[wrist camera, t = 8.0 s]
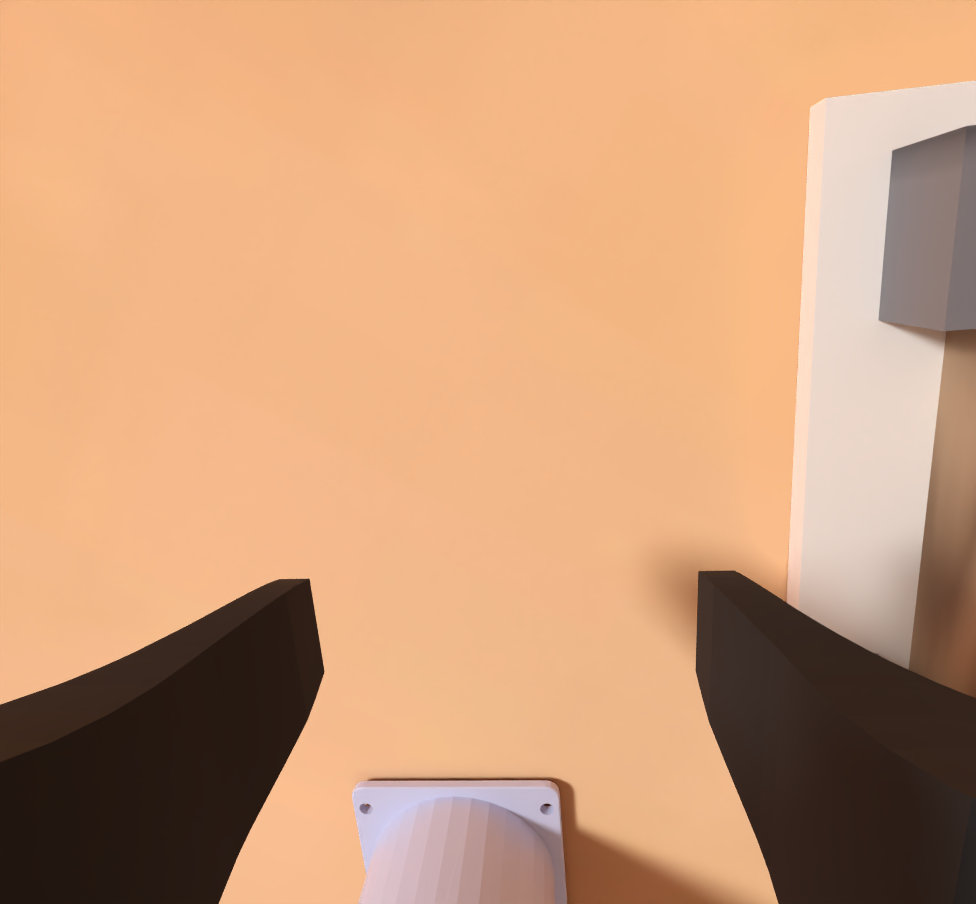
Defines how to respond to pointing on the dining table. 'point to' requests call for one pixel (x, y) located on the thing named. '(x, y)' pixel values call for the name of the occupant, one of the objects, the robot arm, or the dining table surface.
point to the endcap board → (877, 348)
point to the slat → (950, 530)
